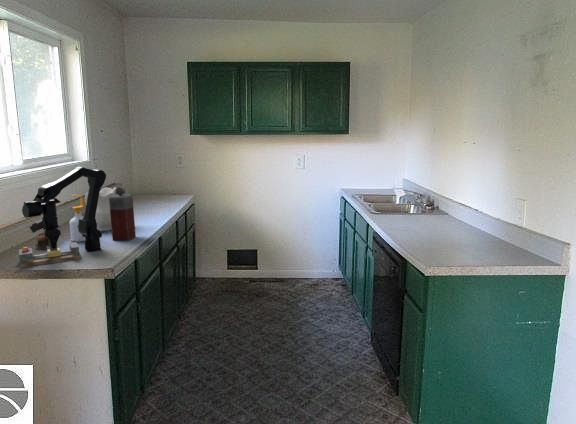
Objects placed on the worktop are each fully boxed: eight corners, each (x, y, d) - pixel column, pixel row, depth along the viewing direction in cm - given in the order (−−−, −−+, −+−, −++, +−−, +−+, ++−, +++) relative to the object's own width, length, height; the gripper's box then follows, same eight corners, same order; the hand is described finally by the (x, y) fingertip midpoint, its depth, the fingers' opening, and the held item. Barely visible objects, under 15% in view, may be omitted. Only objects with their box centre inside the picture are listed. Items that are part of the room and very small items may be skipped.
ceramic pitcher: (107, 236, 251) (106, 192, 246) (76, 232, 255) (75, 188, 250) (128, 227, 272) (128, 187, 267) (99, 224, 275) (98, 184, 270)
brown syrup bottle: (137, 235, 247) (133, 185, 241) (128, 240, 236) (124, 188, 230) (122, 235, 248) (117, 185, 242) (112, 240, 237) (107, 188, 231)
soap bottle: (69, 239, 240) (64, 194, 235) (87, 236, 246) (82, 192, 241) (73, 242, 233) (68, 196, 229) (92, 239, 239) (87, 194, 234)
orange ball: (28, 252, 200) (28, 246, 199) (28, 253, 198) (28, 247, 197) (22, 252, 198) (21, 247, 198) (22, 254, 196) (21, 248, 196)
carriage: (60, 253, 207) (58, 237, 206) (60, 255, 203) (59, 239, 202) (47, 254, 205) (45, 238, 203) (48, 257, 201) (46, 241, 199)
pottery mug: (30, 249, 223) (33, 233, 225) (48, 253, 230) (50, 238, 233) (45, 246, 217) (48, 230, 220) (62, 250, 225) (65, 234, 228)
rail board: (78, 252, 214) (77, 241, 213) (81, 258, 205) (80, 247, 204) (20, 261, 202) (18, 249, 201) (20, 267, 193) (19, 255, 192)
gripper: (28, 212, 204) (32, 245, 207) (29, 219, 188) (33, 255, 191) (55, 210, 210) (59, 242, 213) (58, 216, 194) (62, 251, 197)
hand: (53, 247), depth 203 cm, fingers closed on carriage, 3 cm apart
